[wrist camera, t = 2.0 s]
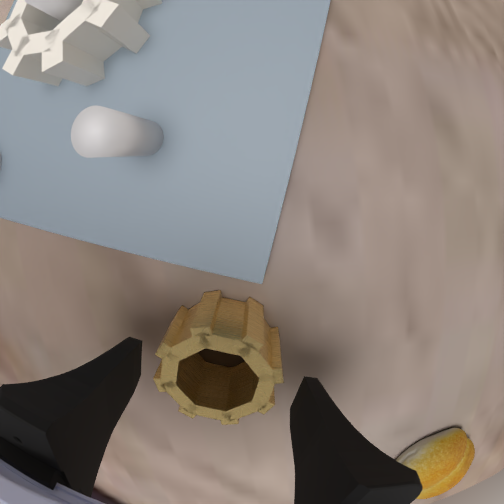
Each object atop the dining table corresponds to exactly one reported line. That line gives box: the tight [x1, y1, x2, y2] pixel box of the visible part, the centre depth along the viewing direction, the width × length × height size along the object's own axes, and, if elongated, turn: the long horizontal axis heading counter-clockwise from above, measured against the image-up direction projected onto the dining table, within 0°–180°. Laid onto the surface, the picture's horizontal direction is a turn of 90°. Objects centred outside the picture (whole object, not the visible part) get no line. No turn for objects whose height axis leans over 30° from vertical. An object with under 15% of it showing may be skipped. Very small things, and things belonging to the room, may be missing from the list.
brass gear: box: [153, 290, 284, 425], centre depth 14 cm, size 6×6×3 cm
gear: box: [0, 0, 162, 86], centre depth 8 cm, size 7×7×3 cm
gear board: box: [0, 0, 330, 284], centre depth 9 cm, size 18×16×6 cm
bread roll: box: [396, 428, 475, 499], centre depth 18 cm, size 8×9×4 cm
